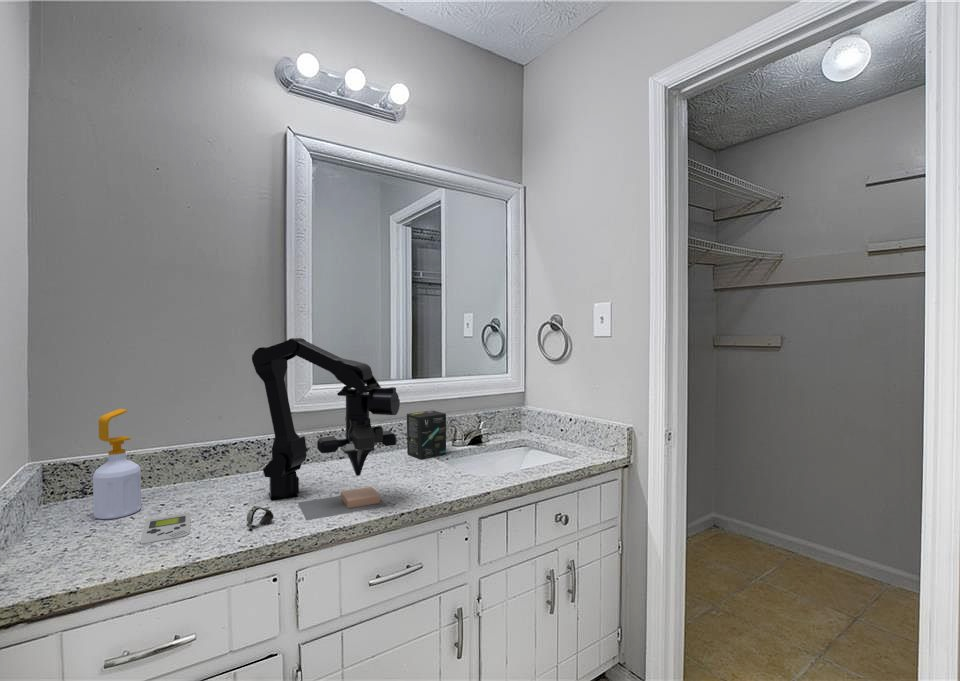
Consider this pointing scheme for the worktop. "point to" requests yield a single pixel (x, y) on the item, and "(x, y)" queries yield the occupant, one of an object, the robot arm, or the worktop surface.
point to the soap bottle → (116, 477)
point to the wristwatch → (265, 519)
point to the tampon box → (426, 434)
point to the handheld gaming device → (166, 528)
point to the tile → (360, 497)
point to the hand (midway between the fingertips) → (357, 475)
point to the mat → (330, 507)
